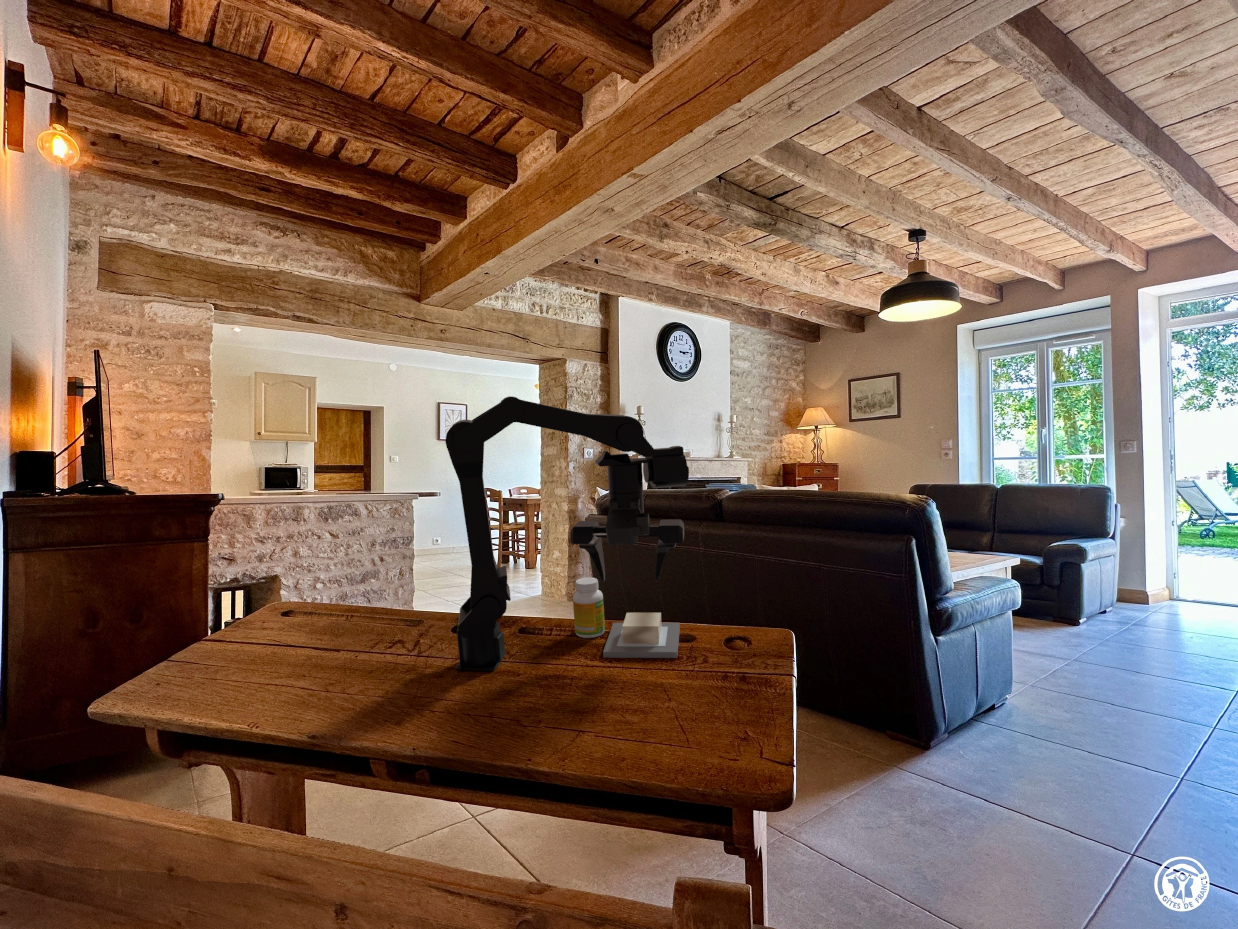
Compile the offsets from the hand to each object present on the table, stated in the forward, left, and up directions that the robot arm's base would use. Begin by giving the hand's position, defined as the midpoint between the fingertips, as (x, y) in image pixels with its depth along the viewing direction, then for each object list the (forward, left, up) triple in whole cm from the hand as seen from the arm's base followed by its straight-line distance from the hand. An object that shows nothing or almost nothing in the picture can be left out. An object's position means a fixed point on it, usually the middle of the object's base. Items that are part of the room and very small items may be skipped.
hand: (630, 580), depth 106 cm
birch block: (+2, -1, -10) cm, 10 cm away
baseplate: (+2, -1, -11) cm, 11 cm away
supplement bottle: (-8, +3, -11) cm, 14 cm away
